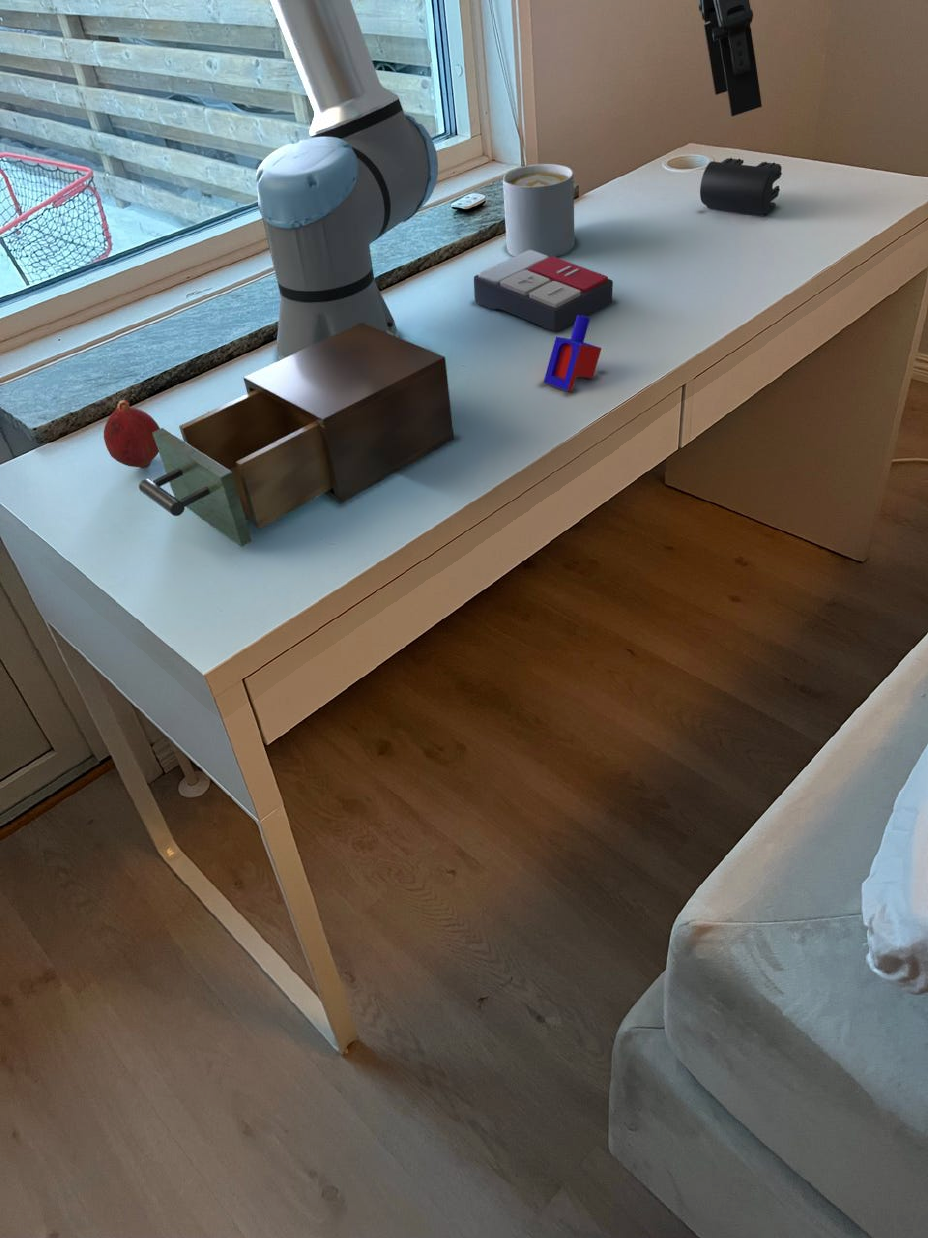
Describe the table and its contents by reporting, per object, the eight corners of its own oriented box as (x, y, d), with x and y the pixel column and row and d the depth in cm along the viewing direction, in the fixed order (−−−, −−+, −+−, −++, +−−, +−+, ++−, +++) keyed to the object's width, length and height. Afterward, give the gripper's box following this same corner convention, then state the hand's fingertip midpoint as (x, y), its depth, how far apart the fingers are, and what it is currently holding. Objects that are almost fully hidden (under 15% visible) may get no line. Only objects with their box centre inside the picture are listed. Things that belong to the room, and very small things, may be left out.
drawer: (204, 568, 89) (179, 498, 83) (138, 518, 96) (112, 450, 91) (361, 480, 97) (348, 411, 92) (290, 439, 105) (274, 374, 99)
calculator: (556, 304, 118) (471, 270, 126) (555, 337, 121) (473, 302, 129) (614, 274, 123) (529, 243, 131) (613, 306, 126) (530, 274, 134)
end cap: (697, 214, 146) (700, 167, 141) (717, 199, 150) (721, 152, 145) (760, 223, 141) (766, 174, 136) (780, 207, 145) (785, 159, 140)
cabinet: (340, 504, 96) (322, 419, 90) (264, 457, 104) (242, 377, 98) (454, 439, 103) (445, 356, 97) (374, 400, 111) (361, 321, 105)
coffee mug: (546, 264, 137) (544, 191, 130) (493, 251, 142) (488, 180, 135) (601, 232, 144) (601, 161, 137) (548, 221, 149) (546, 153, 142)
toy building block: (588, 392, 111) (608, 323, 108) (567, 391, 108) (587, 318, 105) (564, 384, 113) (584, 315, 110) (543, 382, 110) (562, 311, 107)
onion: (139, 487, 102) (114, 421, 96) (106, 472, 105) (80, 407, 99) (181, 461, 105) (159, 395, 100) (148, 447, 108) (125, 383, 103)
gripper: (763, -196, 72) (799, 106, 84) (724, -171, 92) (757, 70, 104) (663, -155, 74) (712, 135, 86) (646, -139, 94) (687, 94, 106)
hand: (737, 100), depth 95 cm, fingers open, 13 cm apart
